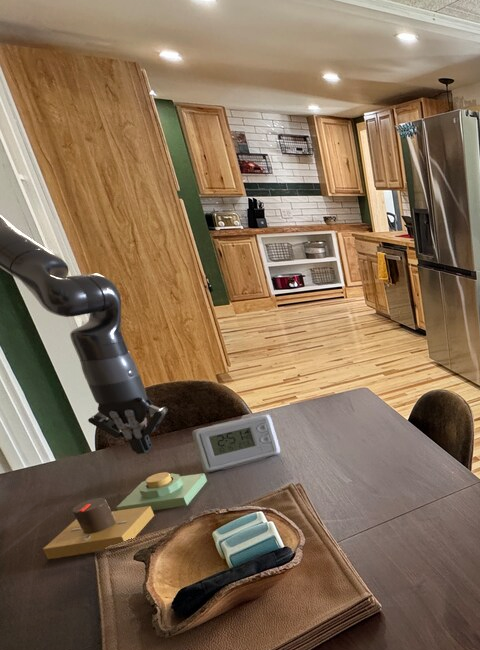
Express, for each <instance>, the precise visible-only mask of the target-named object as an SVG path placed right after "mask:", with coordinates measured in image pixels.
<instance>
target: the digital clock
mask: <svg viewBox="0 0 480 650" xmlns="http://www.w3.org/2000/svg"><path fill="white" fill-rule="evenodd" d="M191 433H192V438H193V442H194V444H195V448H196V451H197V454H198V458H199V460H200V464H201V468H202V470H203V471H204V472H205V473H214V472H216V471H220V470H227V469H231V468H236V467H238V466H239V467H240V466H243V465H246V464H250V463H254V462H258V461H261V460H262V461H263V460H265V459H266V458H270V457H272V456H273V457H274V456H277V455H279V454H280V453H281V446H280V443H279V440H278V438H277V433H276V431H275V426H274V423H273V420H272V417H271V415H270V414H269V413H264V414H259V415H254V416H247V417H242V418H239V419H238V418H237V419H233V420H229V421H225V422H219V423H215V424H212V425H210V426H205V427H200V428H197V429H194V430H193V431H192V432H191Z"/></svg>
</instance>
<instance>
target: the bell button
mask: <svg viewBox="0 0 480 650" xmlns="http://www.w3.org/2000/svg"><path fill="white" fill-rule="evenodd" d="M170 474H171V473H169V472H167V471H164V472H158V473H155V474H152V475H150V476H148V477H147V478H146V479H145V481H146V483H147V485H148V488H150V489H152V488H158V487H161V486H165V485H167V484H169V483H170V482H172V479H171V476H170Z"/></svg>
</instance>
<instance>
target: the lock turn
mask: <svg viewBox="0 0 480 650" xmlns="http://www.w3.org/2000/svg"><path fill="white" fill-rule="evenodd" d="M72 513H73V515H74V517H75V520H76V519H77V521H78V523H79V525H80V527H81V528H82V530H83V532H84V533H95V532H99V531H102V530H104V529H106V528H108V527H110V526H112V525H113V524H114V523H115V521H116V520H115V518H114V516H113V514H112V510H111V508H110V506H109V503H108V501H107V499H106V498H104V497H98V498H97V497H96V498H92V499H89V500H86V501H83V502H80V503H78V504H77V505H75V506H74V507H72Z"/></svg>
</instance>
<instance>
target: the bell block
mask: <svg viewBox="0 0 480 650" xmlns="http://www.w3.org/2000/svg"><path fill="white" fill-rule="evenodd" d="M169 474H170V476H171V479H172V482H170V483H169V484H167V485H165V486H161V487H158V488H152V489H150V488H148V485H147V483H146V480H144V481H141V483H140V484H138V485H137V486H136V487H135V489H133V490H132V491H131V492H130V493H129V494H128V495H127V496H126V497H125V498H124V499H123V500H122V501H121V502H120V503H119V504H118V505H116V507H115V508H116V511H119V510H126V509H133V508H140V507H147V506H150V507H151V509H152V511H153V512H154V511H160V510H167V509H173V508H178V507H179V508H180V507H186V506H188V505H189V504H190V503H191V502H192V500H193V499H194V497H196V495H197V494H198V493H199V492H200V490H201V489H202V488H203V486H205V484H206V483H207V482H208V479H207V476H206V475H205V473H196V474H187V475H180V474H178V473H169Z"/></svg>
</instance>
